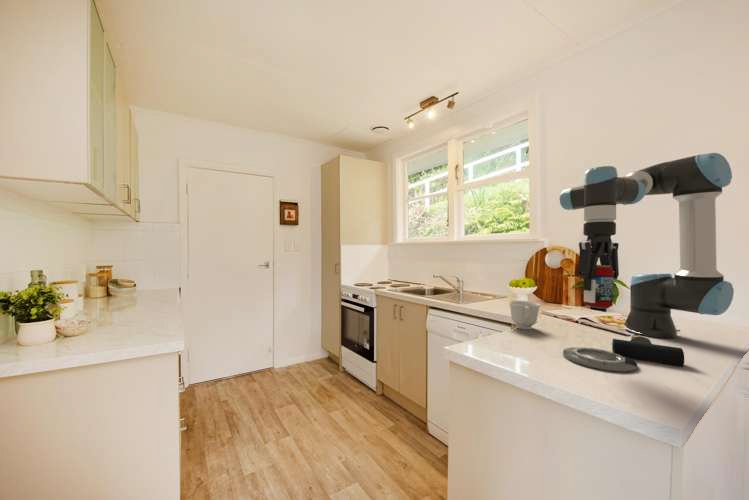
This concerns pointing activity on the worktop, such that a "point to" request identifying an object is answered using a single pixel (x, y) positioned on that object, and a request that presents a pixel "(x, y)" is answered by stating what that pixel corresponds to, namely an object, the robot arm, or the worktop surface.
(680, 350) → the pipe connector
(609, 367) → the ring plate
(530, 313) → the teacup
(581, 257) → the robot arm
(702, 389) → the worktop surface
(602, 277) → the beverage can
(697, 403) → the worktop surface
